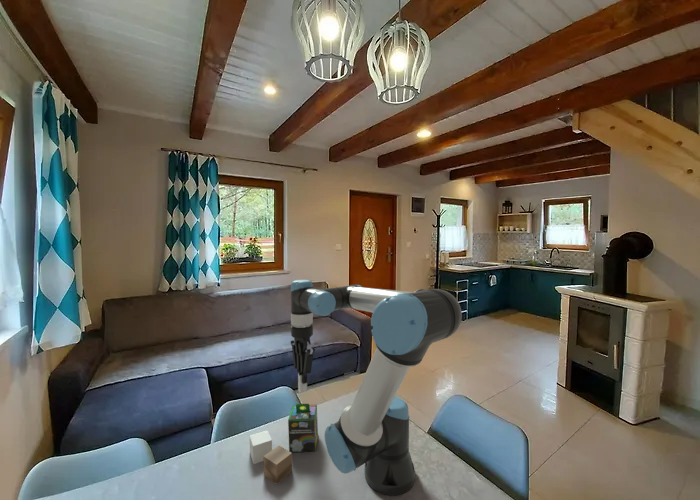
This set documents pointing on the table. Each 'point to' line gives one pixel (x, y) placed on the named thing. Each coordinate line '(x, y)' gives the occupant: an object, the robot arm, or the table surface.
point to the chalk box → (303, 428)
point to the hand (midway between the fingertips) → (302, 391)
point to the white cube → (260, 446)
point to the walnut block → (277, 464)
